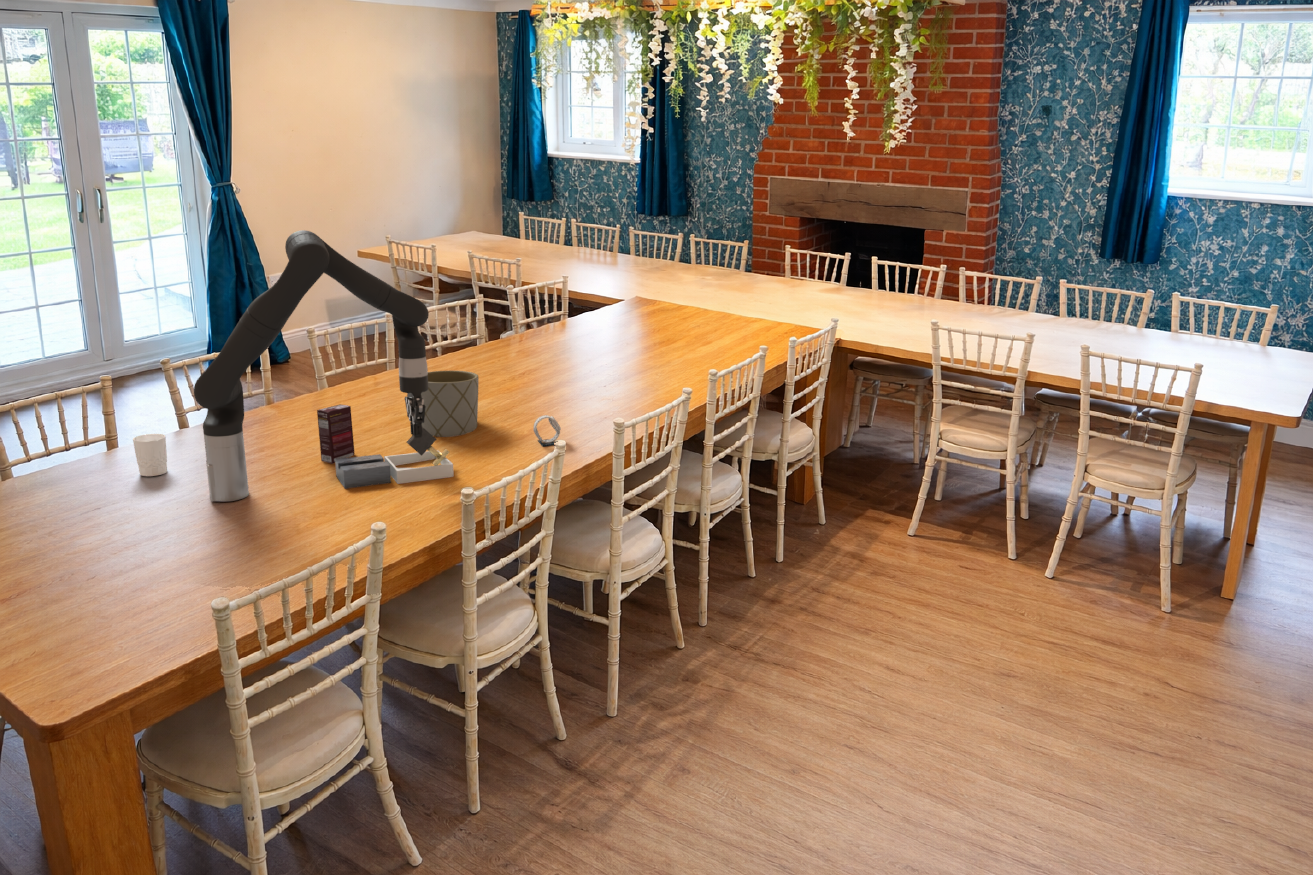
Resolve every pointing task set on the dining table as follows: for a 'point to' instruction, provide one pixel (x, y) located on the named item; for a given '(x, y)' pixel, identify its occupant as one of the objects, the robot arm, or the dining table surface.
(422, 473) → the key tray
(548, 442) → the watch
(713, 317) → the dining table surface
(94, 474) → the dining table surface
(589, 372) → the dining table surface
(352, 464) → the plate
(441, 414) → the planter
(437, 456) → the t key
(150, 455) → the white cup
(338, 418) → the supplement box
